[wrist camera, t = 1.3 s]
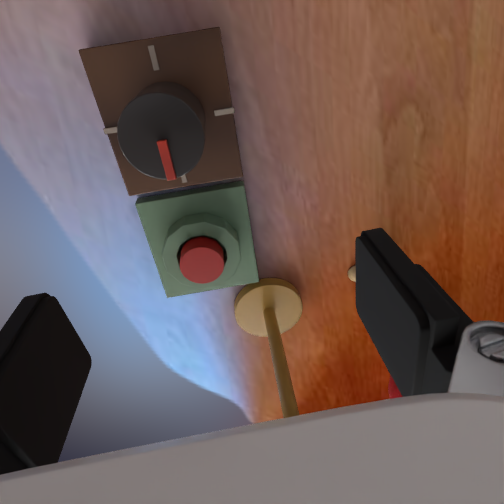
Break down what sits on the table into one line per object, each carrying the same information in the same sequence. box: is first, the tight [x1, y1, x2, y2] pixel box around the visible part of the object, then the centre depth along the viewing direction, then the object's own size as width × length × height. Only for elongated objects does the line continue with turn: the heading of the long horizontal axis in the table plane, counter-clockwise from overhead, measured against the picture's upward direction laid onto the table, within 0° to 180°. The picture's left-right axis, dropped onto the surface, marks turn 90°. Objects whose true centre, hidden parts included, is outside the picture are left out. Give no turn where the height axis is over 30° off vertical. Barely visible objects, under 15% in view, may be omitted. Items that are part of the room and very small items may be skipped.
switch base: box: [135, 181, 259, 298], centre depth 31 cm, size 10×9×3 cm
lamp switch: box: [180, 237, 224, 284], centre depth 30 cm, size 4×4×2 cm
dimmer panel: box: [79, 27, 243, 196], centre depth 26 cm, size 10×9×2 cm
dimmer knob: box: [117, 82, 205, 181], centre depth 23 cm, size 5×5×5 cm
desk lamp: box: [234, 278, 302, 418], centre depth 27 cm, size 8×8×24 cm
